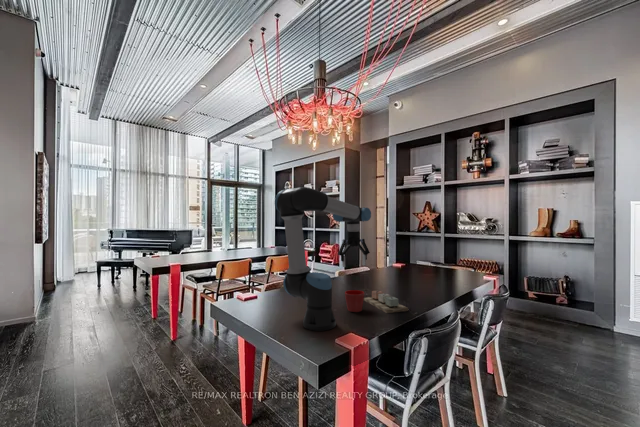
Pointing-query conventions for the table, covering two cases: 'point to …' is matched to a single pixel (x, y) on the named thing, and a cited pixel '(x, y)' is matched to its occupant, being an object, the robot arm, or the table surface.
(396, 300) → the tile
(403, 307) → the button board
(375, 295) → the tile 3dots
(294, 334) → the table surface
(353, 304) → the flower pot
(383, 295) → the tile
